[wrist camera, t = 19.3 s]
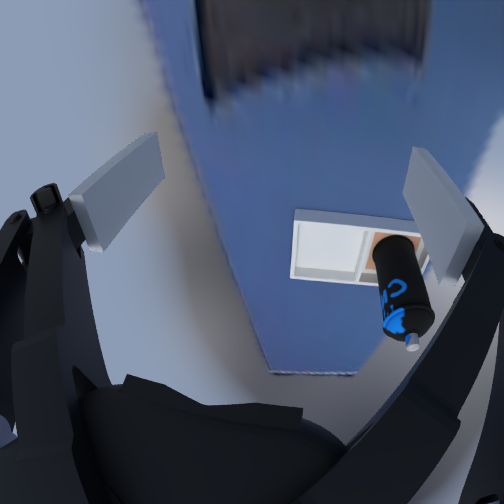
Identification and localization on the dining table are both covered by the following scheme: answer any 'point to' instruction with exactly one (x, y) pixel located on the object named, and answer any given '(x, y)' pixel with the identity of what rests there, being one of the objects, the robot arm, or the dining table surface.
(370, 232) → the tray
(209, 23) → the dining table surface
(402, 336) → the aerosol can
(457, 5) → the dining table surface
